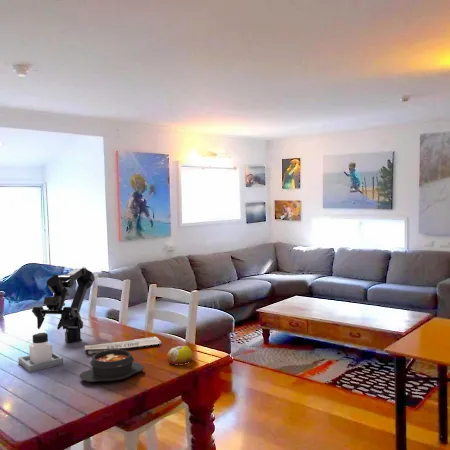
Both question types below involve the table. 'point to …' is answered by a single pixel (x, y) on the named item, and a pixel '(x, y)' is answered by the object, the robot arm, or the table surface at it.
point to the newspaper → (122, 345)
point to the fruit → (179, 355)
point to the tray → (34, 367)
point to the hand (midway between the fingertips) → (48, 328)
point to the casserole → (111, 366)
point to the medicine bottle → (40, 348)
